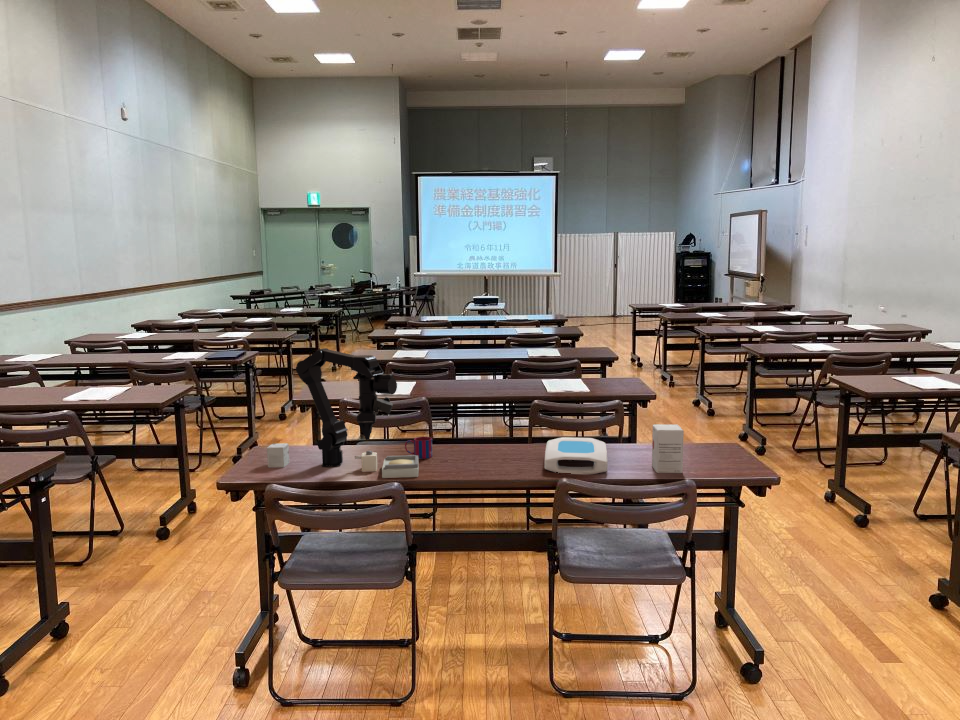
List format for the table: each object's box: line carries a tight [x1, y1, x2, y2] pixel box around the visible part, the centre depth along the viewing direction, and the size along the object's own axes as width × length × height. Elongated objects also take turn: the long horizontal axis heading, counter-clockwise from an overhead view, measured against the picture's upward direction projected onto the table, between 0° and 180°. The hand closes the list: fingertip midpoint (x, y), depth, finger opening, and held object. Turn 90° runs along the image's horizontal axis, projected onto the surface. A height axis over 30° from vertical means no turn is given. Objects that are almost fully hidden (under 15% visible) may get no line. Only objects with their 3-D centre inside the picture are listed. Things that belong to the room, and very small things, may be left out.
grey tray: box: [381, 454, 420, 479], centre depth 242 cm, size 12×14×4 cm
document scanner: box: [544, 436, 608, 476], centre depth 250 cm, size 21×28×6 cm
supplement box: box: [651, 423, 685, 474], centre depth 240 cm, size 9×9×15 cm
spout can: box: [354, 450, 378, 473], centre depth 245 cm, size 8×5×6 cm, turn 95°
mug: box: [404, 436, 433, 460], centre depth 261 cm, size 7×10×7 cm
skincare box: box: [266, 442, 290, 468], centre depth 251 cm, size 6×6×7 cm
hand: (368, 436), depth 244 cm, fingers open, 9 cm apart
